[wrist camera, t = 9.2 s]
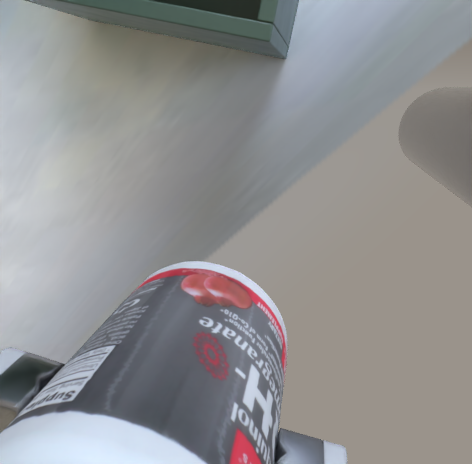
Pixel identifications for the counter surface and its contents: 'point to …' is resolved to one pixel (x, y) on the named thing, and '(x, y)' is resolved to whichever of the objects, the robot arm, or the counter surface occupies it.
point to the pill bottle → (166, 379)
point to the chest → (197, 20)
